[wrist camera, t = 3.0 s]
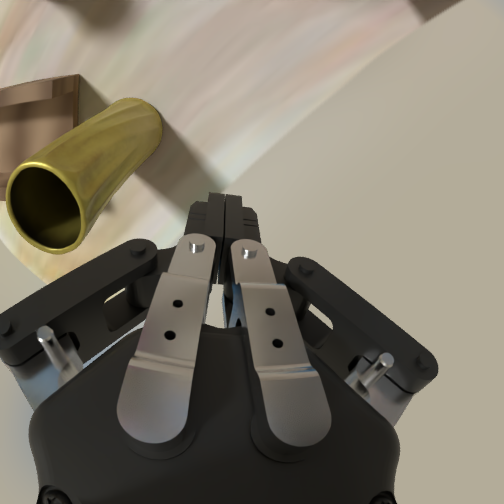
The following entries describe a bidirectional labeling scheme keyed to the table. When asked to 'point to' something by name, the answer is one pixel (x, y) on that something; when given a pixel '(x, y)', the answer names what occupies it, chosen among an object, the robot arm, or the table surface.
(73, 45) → the table surface
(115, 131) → the vase
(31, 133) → the u rest
